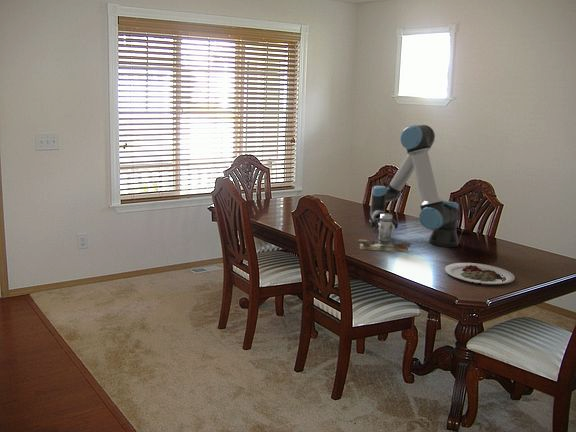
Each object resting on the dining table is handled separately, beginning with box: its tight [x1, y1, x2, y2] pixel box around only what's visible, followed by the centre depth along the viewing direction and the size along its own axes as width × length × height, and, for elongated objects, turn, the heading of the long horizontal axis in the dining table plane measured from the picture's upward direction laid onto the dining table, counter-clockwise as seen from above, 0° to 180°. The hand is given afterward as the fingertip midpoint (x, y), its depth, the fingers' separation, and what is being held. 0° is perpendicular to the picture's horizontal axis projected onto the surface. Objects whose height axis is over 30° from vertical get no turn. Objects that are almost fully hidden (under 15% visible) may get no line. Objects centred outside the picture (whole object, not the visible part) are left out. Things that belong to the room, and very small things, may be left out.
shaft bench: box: [358, 239, 411, 253], centre depth 313 cm, size 26×8×4 cm, turn 85°
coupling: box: [377, 212, 393, 245], centre depth 311 cm, size 6×6×15 cm
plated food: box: [444, 262, 516, 285], centre depth 274 cm, size 30×30×3 cm
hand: (387, 228), depth 306 cm, fingers closed on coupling, 6 cm apart
